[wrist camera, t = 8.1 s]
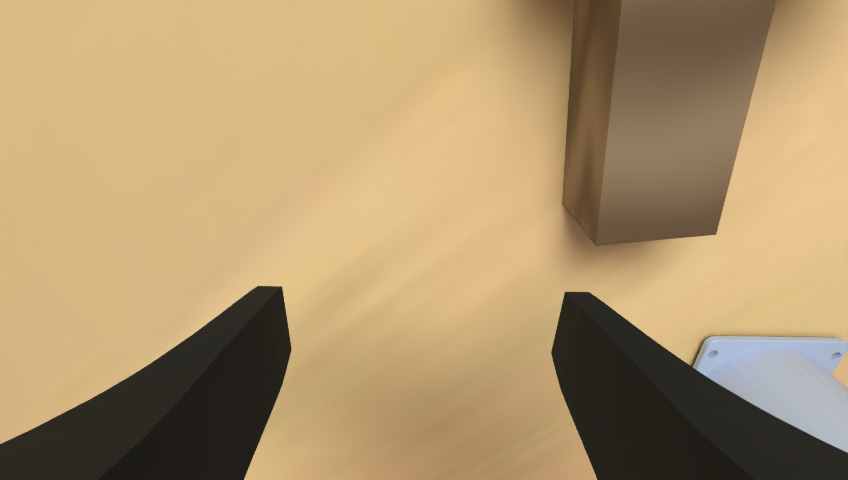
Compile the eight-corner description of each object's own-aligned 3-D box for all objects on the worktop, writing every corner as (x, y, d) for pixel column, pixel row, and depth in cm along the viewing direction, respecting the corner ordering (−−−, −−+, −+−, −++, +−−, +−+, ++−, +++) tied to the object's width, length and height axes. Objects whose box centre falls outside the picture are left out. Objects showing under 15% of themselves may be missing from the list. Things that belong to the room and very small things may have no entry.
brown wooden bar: (656, 192, 20) (715, 234, 16) (560, 201, 20) (595, 245, 16) (728, -223, 13) (859, -325, 9) (584, -204, 13) (654, -298, 9)
